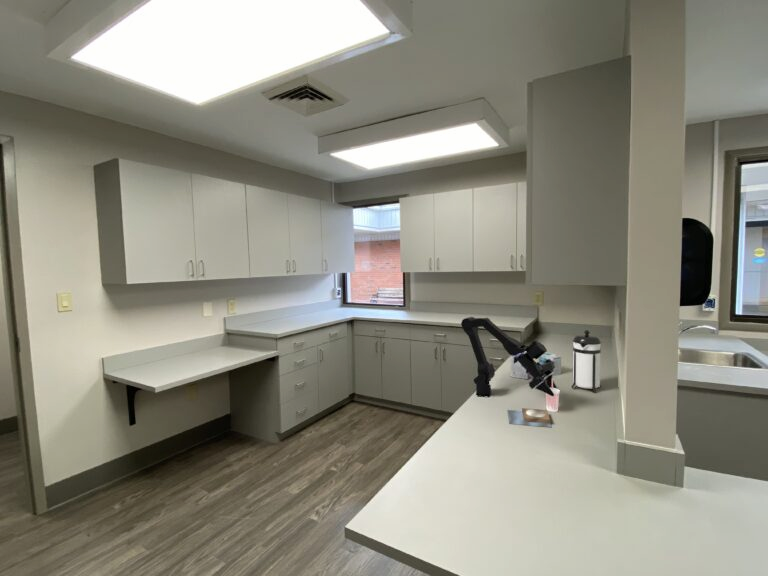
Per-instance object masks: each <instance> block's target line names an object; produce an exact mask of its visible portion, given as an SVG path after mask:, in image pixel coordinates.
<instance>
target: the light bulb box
mask: <svg viewBox="0 0 768 576" xmlns="http://www.w3.org/2000/svg"><path fill="white" fill-rule="evenodd" d="M547 359H550V360H551V361H553V362H554V366H555V368H554V369H553V372H552V373H551V374H553V377H554V376H558V375H561V374H562V355H560V354H559V355H558V354H556V353H555V354H554V353H551V352H548V351H547V352H545V353H544V354H543V355H542V356H540V357H539V358H538V362H539V363H540V364H543V363H545V360H547ZM551 374H550V375H551Z"/></svg>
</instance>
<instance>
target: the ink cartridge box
mask: <svg viewBox="0 0 768 576" xmlns="http://www.w3.org/2000/svg"><path fill="white" fill-rule="evenodd" d="M520 354H521V353H519V354H517V355H515V356H516V357H518V356H519V355H520ZM523 354H525V352H523ZM515 356H512V355H510V376H511V378H515V377H516V378H517V379H521V378H522V379H523V380H529V379H531V375H530V374H529V373H526V368H524V367H523V366H522V365H521V364H520V363H519V362H516V363H514V357H515ZM516 378H515V379H516ZM522 379H521V380H522Z"/></svg>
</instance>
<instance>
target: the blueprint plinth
mask: <svg viewBox="0 0 768 576" xmlns="http://www.w3.org/2000/svg"><path fill="white" fill-rule="evenodd" d="M507 416H508V417H507V418H508V424H509V425H514V426H515V425H517V426H528V427H537V428H538V427H539V428H548V429H549V428H550V429H551V428H552V425H551V418H550V415H549V412H548V410H547V409H538V408H537V409H536V408H525V407H524V408H523V407H522V408H521V410H514V409H513V410H512V409H507Z"/></svg>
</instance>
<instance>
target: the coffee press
mask: <svg viewBox="0 0 768 576" xmlns="http://www.w3.org/2000/svg"><path fill="white" fill-rule="evenodd" d="M572 342H573V344H572V345H573V346H572V351H573V354H572V355H573V356H572V357H573V358H572V359H573V361H572V362H573V365H572V369H573V370H572V371H573V375H572V383H573V384H572V385H571V389H573V388H575V389H574V390H576V389H577V388H578V387H579V388H581V389H589V390H591V392H592V393H593V392H594V393H593V394H596V393H597V388H598V387H599V386H600V387H602V385H601V353H602V348H601V344H602V340H601V339H600V337H599V336H597V335H595V334H590V331H589V330H587V329H586V330H585V331H584V333H581V334H576V335H575V336H574V337H573V338H572Z"/></svg>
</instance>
